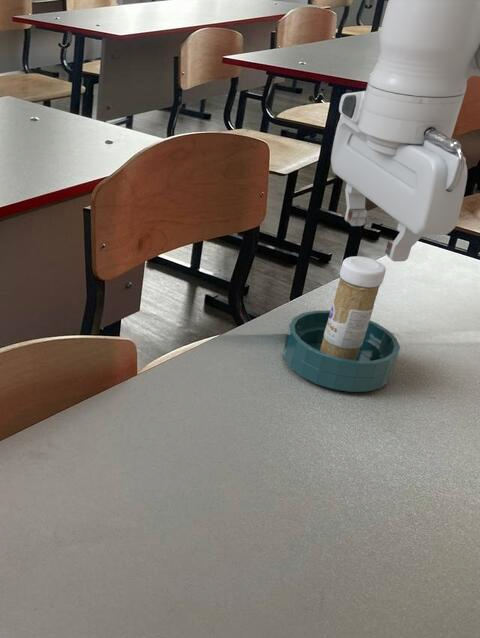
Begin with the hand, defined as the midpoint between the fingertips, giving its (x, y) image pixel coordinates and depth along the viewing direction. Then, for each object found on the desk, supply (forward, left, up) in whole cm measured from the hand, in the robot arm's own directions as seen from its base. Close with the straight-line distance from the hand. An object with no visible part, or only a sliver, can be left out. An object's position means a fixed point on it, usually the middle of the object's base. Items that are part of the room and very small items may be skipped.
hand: (373, 240), depth 84 cm
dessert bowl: (0, 0, -17) cm, 17 cm away
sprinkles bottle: (0, 0, -16) cm, 16 cm away
